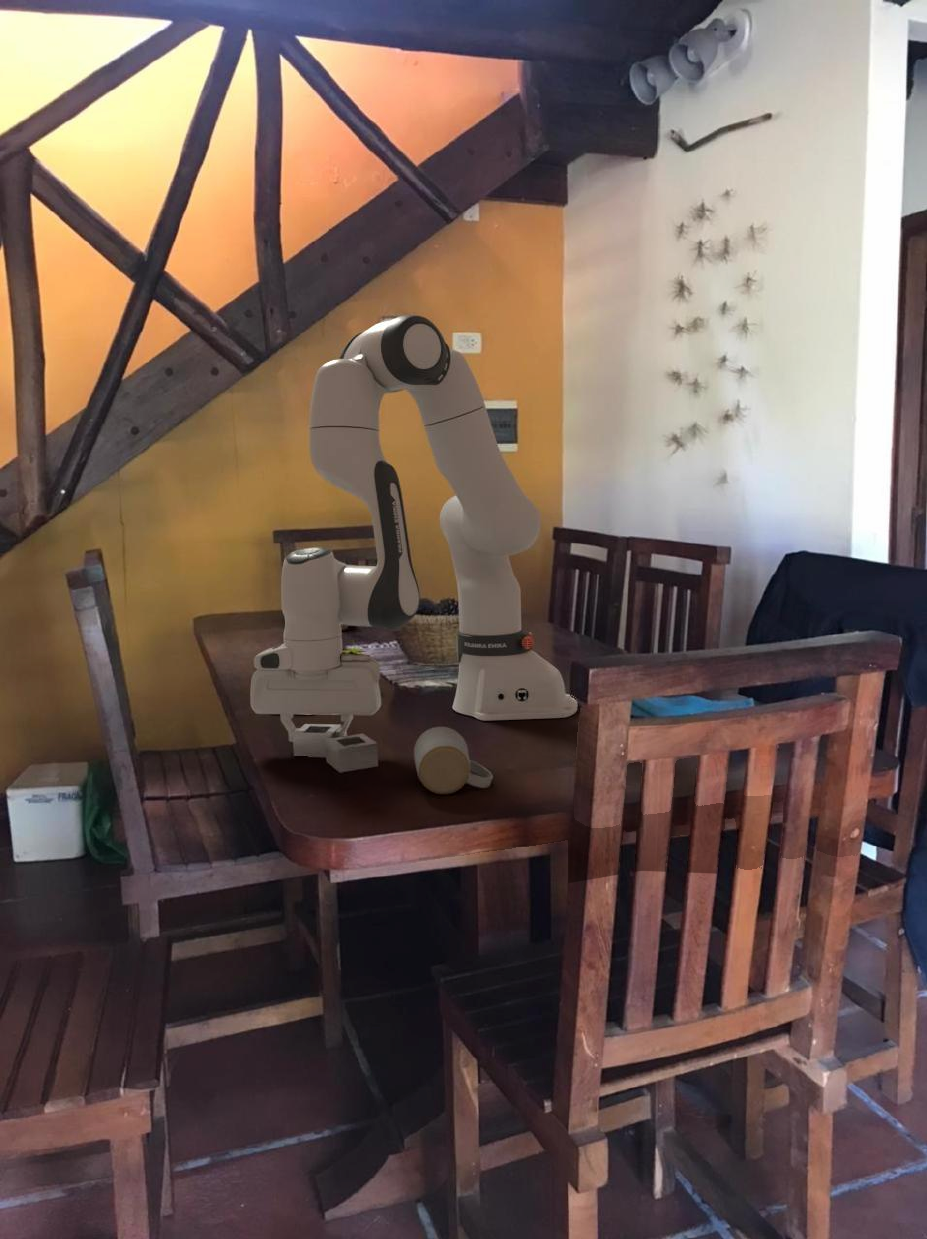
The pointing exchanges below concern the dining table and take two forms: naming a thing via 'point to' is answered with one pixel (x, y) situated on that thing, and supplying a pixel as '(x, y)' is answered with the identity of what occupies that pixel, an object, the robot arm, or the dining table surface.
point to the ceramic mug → (447, 762)
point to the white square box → (351, 752)
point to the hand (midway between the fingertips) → (318, 741)
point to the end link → (313, 739)
